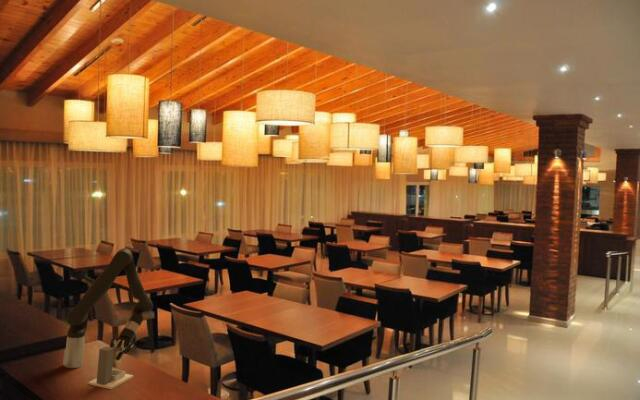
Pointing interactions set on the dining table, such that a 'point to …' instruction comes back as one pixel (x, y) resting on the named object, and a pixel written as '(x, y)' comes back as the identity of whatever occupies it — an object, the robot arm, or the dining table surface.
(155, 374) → the dining table surface
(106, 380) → the grey pillar stand
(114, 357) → the rail end
